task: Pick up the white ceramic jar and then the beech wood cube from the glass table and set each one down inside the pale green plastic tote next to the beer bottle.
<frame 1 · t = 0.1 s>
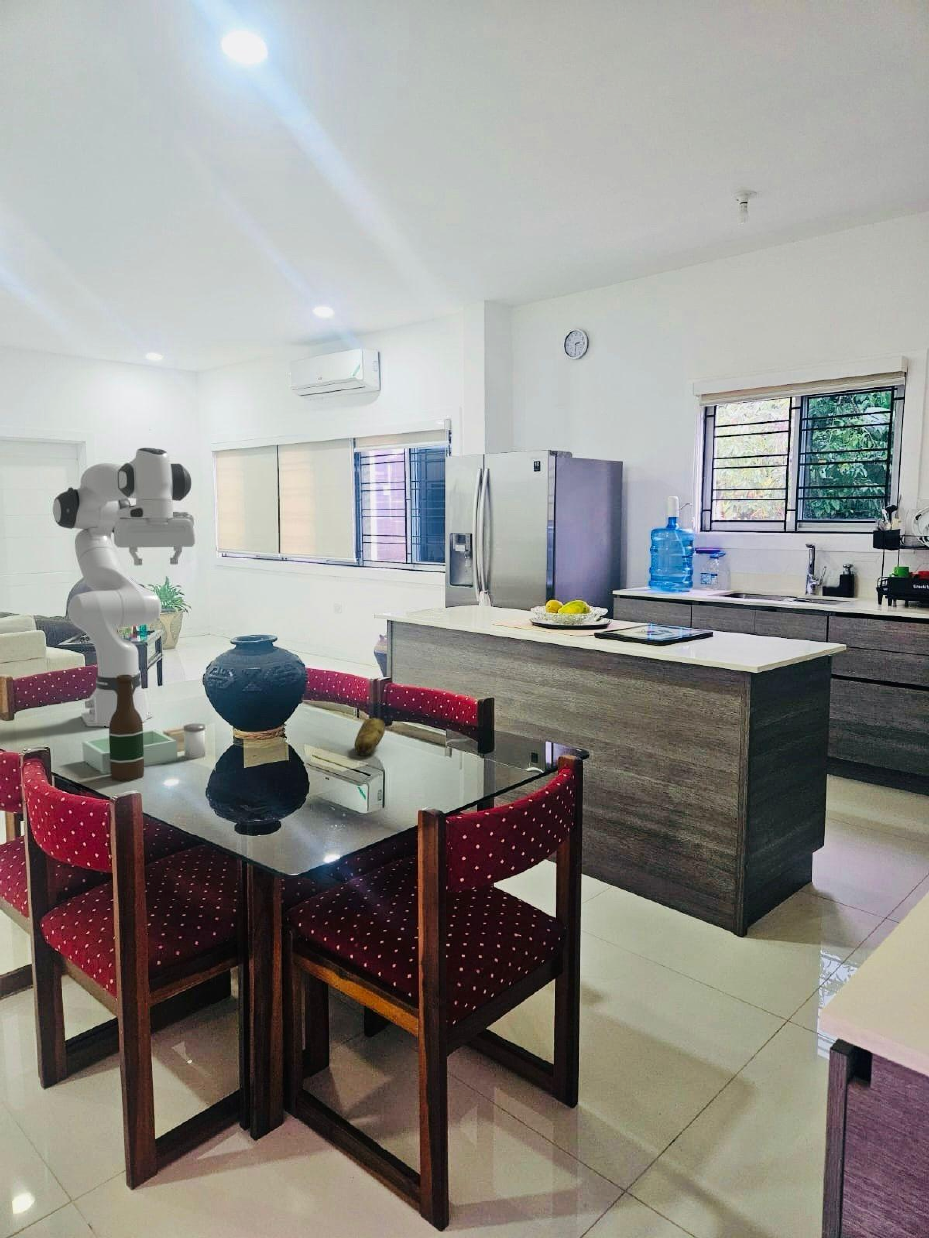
hand: (156, 564, 212), 48 cm above the table, tool pointing down, fingers open, 8 cm apart
tote: (130, 760, 203), on the table
beer bottle: (127, 777, 190), on the table
potato: (368, 751, 215), on the table
beech cube: (176, 749, 214), on the table
white jar: (195, 755, 208), on the table
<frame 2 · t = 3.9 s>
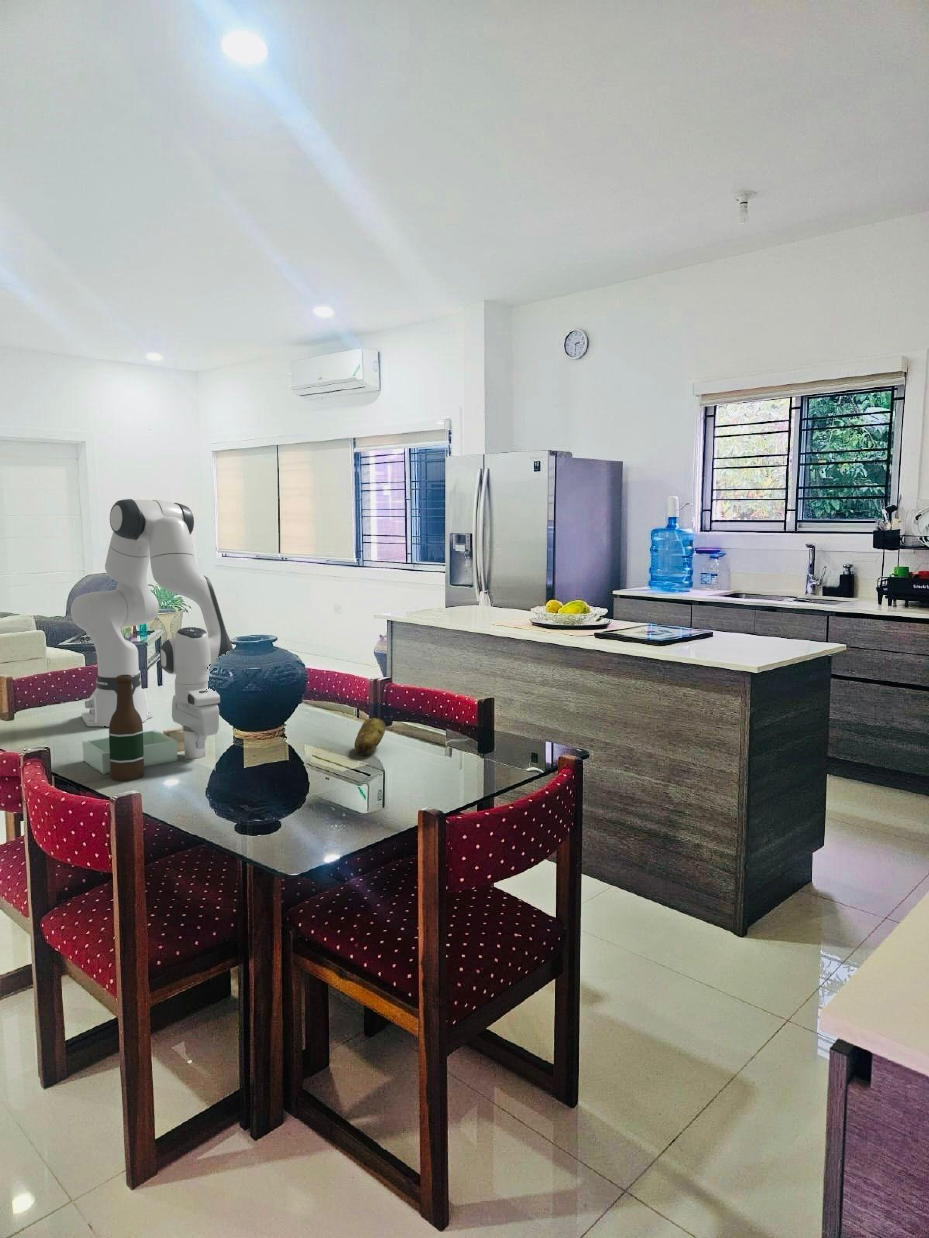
hand: (194, 745, 207), 3 cm above the table, tool pointing down, fingers closed on white jar, 5 cm apart
white jar: (195, 755, 208), on the table, touching gripper
everything else where it was.
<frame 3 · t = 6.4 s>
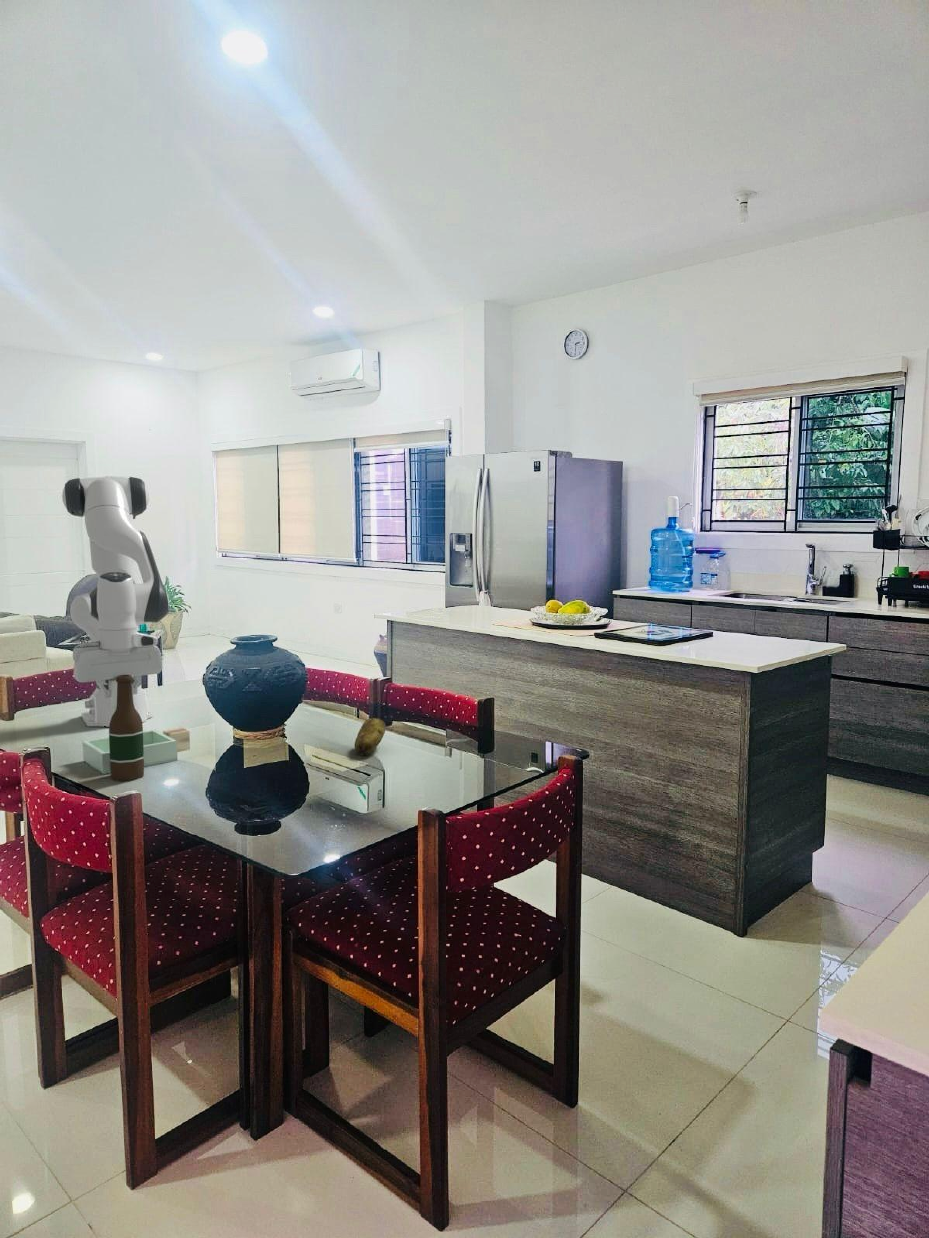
hand: (120, 695, 199), 17 cm above the table, tool pointing down, fingers closed on white jar, 5 cm apart
white jar: (120, 706, 200), point 14 cm above the table, touching gripper
everything else where it was.
when the fingers open (5 cm above the table, at t = 8.9 s): white jar drops 2 cm, resting on tote.
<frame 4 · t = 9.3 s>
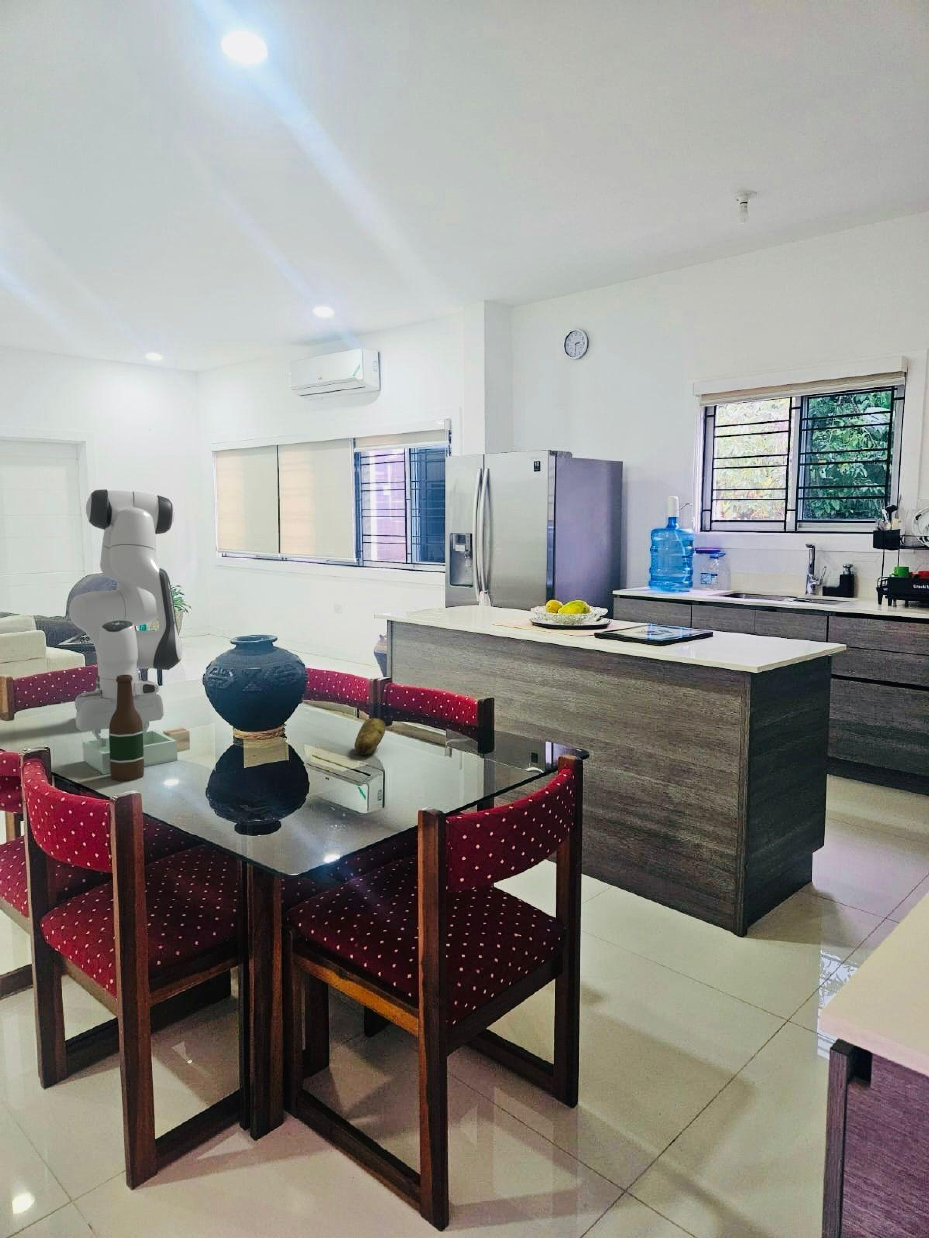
hand: (121, 742, 201), 5 cm above the table, tool pointing down, fingers open, 8 cm apart
white jar: (122, 759, 201), point 1 cm above the table, touching tote
everything else where it was.
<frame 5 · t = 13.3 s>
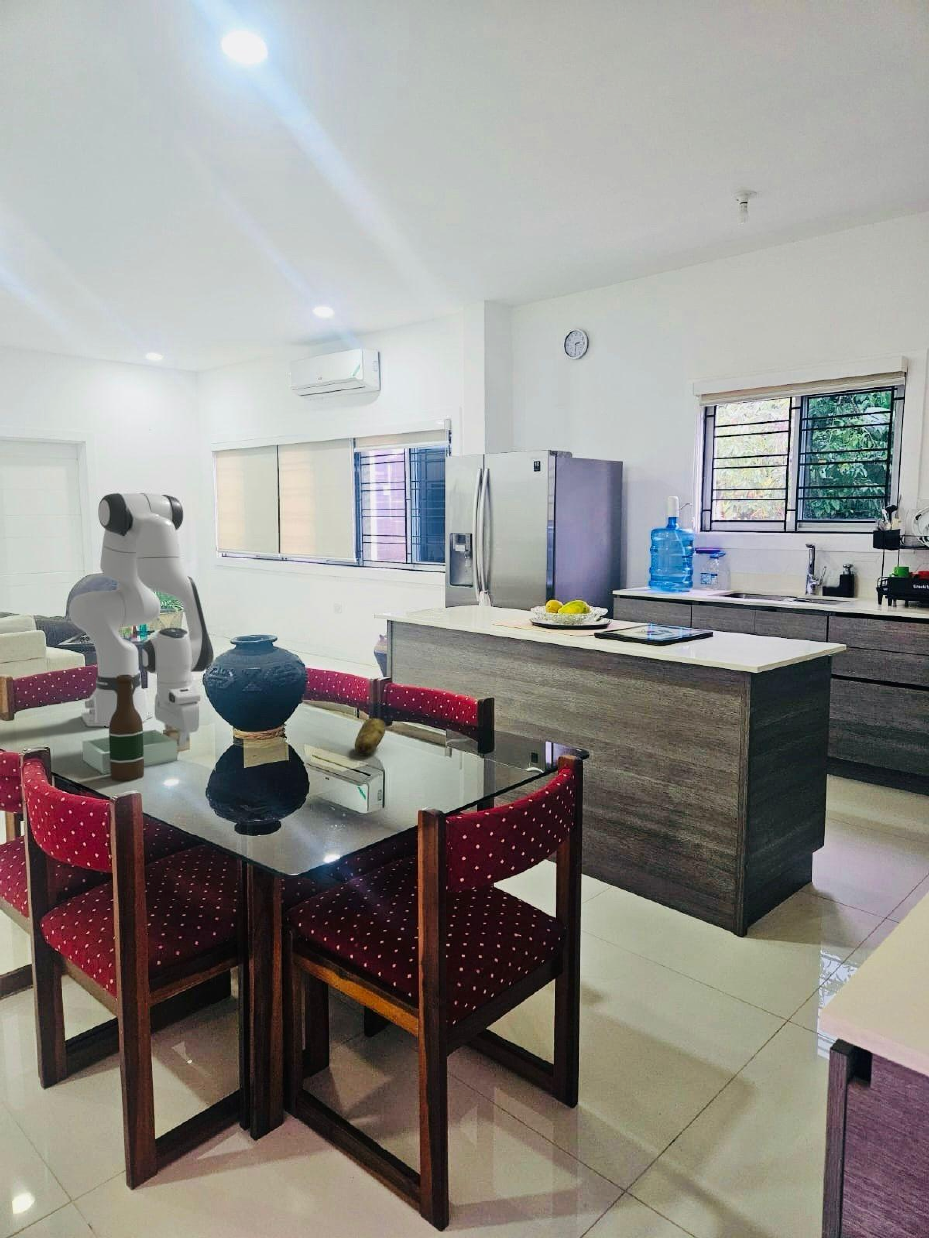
hand: (176, 742, 213), 2 cm above the table, tool pointing down, fingers closed on beech cube, 5 cm apart
beech cube: (176, 748, 214), on the table, touching gripper
everything else where it was.
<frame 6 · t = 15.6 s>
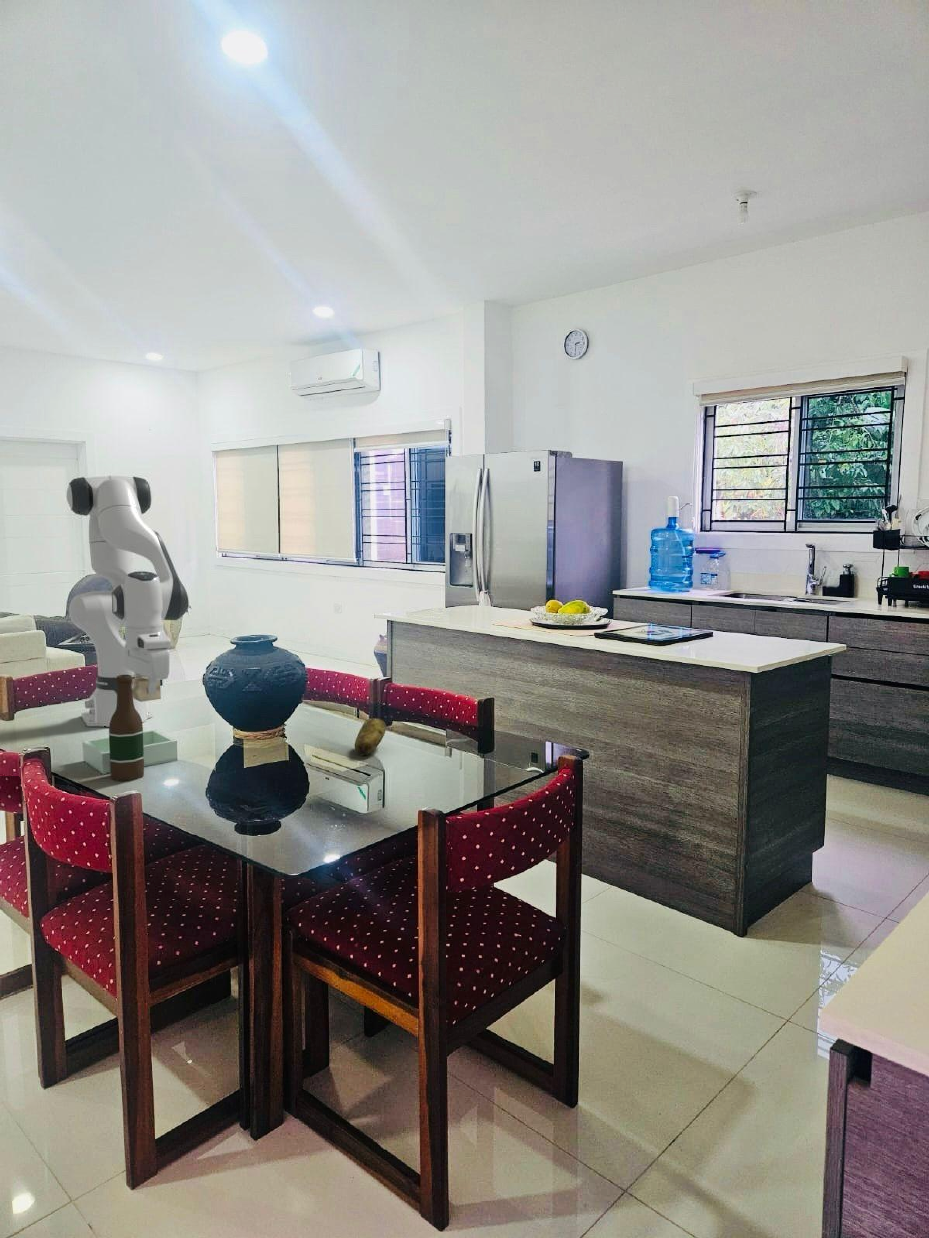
hand: (146, 692, 204), 17 cm above the table, tool pointing down, fingers closed on beech cube, 5 cm apart
beech cube: (146, 698, 204), point 15 cm above the table, touching gripper
everything else where it was.
when the fingers open (4 cm above the table, at t = 18.2 s): beech cube drops 2 cm, resting on tote.
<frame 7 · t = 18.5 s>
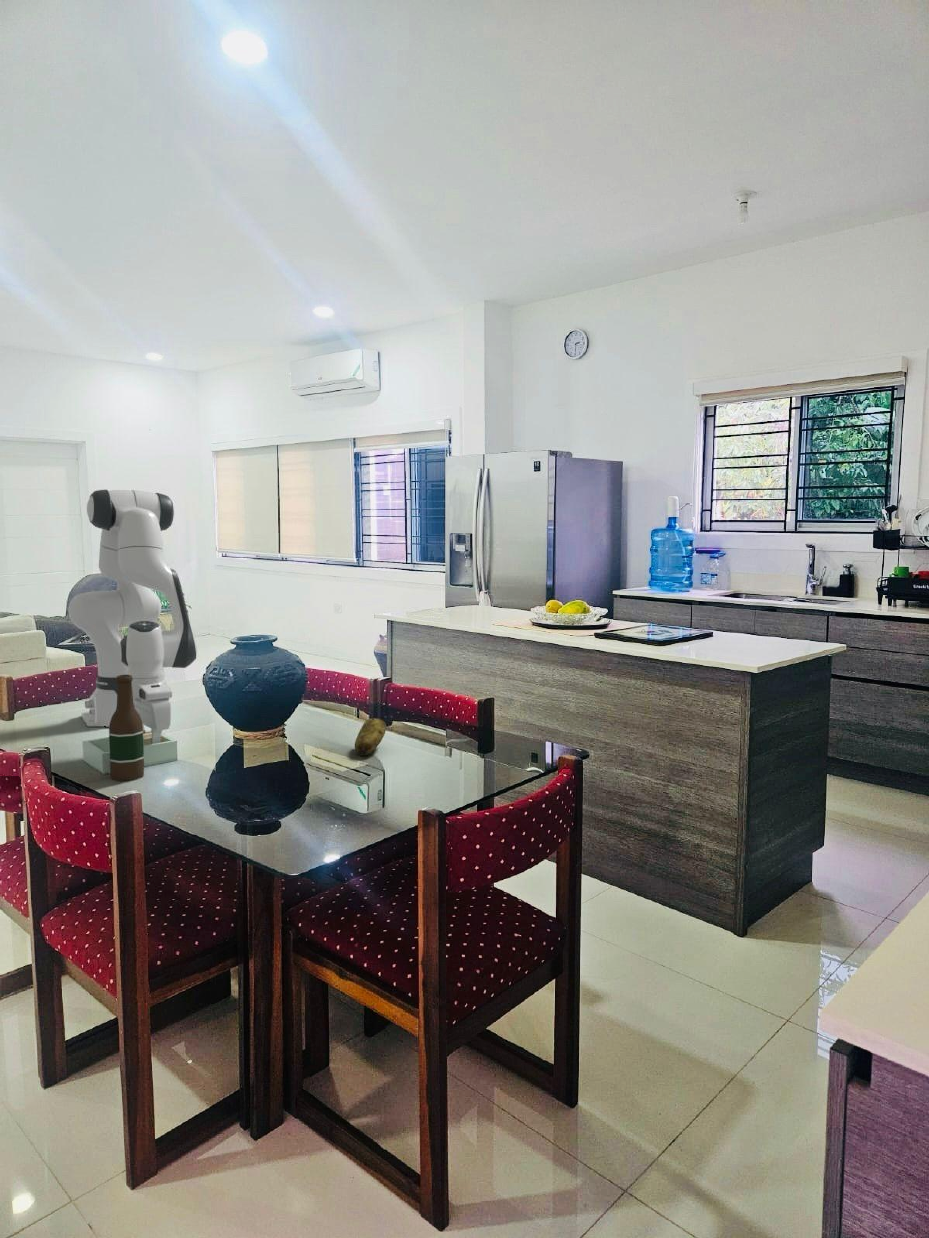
hand: (148, 740, 205), 4 cm above the table, tool pointing down, fingers open, 8 cm apart
beech cube: (148, 754, 206), point 1 cm above the table, touching tote
everything else where it was.
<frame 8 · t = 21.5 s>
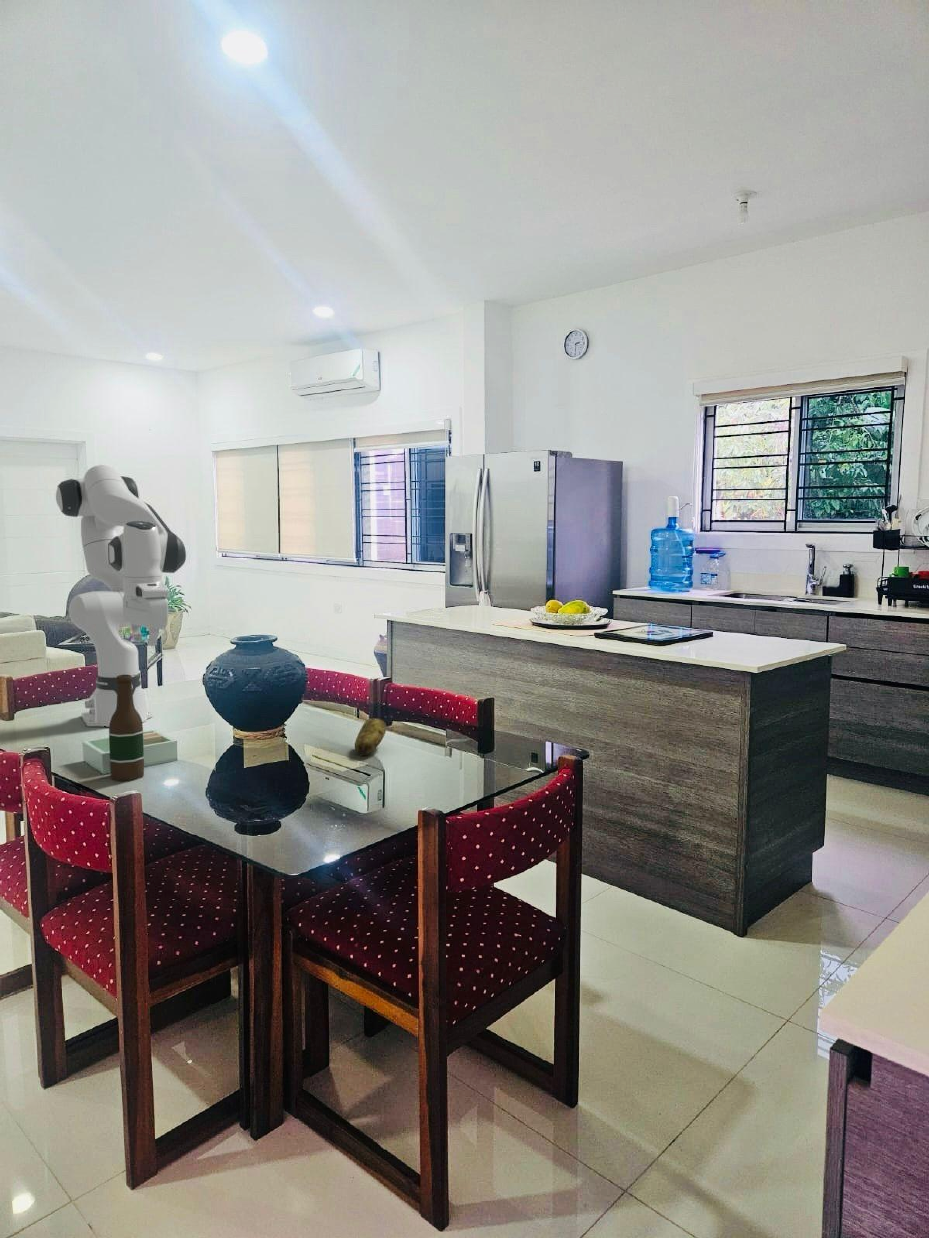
hand: (145, 643, 202), 29 cm above the table, tool pointing down, fingers open, 8 cm apart
nothing on the table moved.
at the end: white jar inside the target area on the tote (1.9 cm from its centre), point 0.6 cm above the tote's base; beech cube inside the target area on the tote (4.5 cm from its centre), point 0.6 cm above the tote's base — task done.
